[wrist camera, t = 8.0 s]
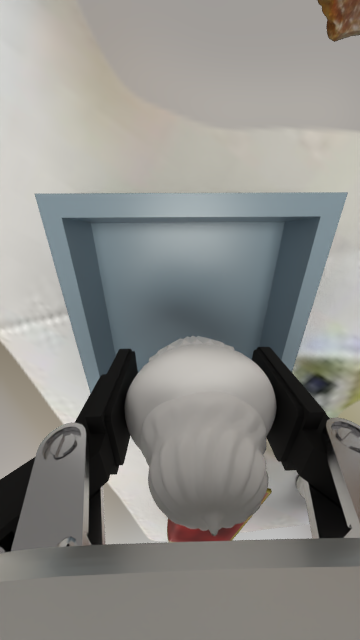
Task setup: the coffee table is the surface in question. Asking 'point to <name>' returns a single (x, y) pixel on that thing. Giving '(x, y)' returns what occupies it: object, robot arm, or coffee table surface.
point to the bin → (188, 269)
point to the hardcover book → (196, 535)
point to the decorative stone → (341, 18)
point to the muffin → (202, 431)
